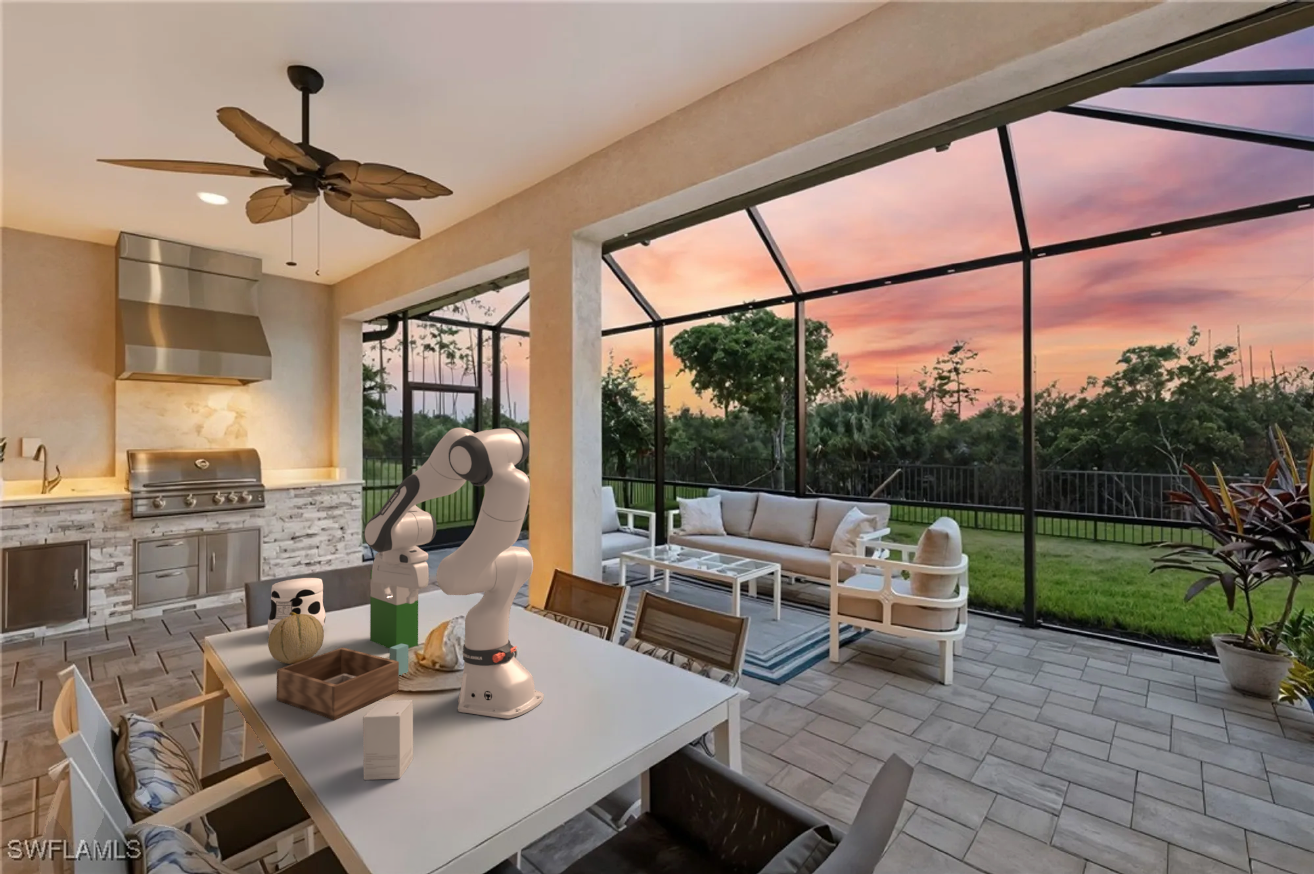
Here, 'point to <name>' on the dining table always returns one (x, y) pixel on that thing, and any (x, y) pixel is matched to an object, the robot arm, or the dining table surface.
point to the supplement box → (388, 739)
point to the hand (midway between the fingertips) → (399, 601)
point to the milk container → (296, 600)
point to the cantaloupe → (295, 638)
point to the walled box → (337, 682)
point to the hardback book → (393, 617)
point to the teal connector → (400, 657)
